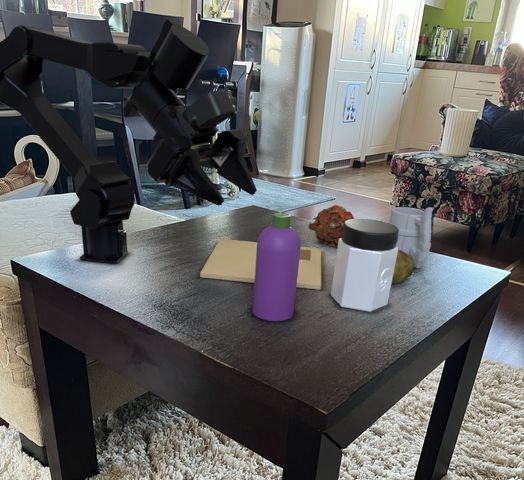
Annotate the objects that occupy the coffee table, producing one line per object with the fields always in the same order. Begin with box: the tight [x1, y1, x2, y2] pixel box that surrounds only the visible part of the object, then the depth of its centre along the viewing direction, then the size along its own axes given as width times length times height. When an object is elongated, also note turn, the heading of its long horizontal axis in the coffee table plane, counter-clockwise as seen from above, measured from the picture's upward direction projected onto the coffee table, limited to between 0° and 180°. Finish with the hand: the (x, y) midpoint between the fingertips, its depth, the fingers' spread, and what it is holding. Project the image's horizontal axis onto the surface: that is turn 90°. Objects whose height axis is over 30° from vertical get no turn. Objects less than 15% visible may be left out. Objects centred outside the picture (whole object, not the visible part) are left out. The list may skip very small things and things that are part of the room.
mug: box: [388, 206, 434, 269], centre depth 99 cm, size 8×12×12 cm, turn 17°
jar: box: [330, 218, 399, 313], centre depth 81 cm, size 9×8×12 cm
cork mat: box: [199, 238, 322, 291], centre depth 96 cm, size 20×20×1 cm
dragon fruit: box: [307, 204, 355, 248], centre depth 109 cm, size 8×8×12 cm
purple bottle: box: [251, 212, 302, 322], centre depth 75 cm, size 6×6×14 cm
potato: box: [391, 249, 415, 285], centre depth 91 cm, size 8×13×8 cm, turn 92°
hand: (239, 197), depth 76 cm, fingers open, 9 cm apart
